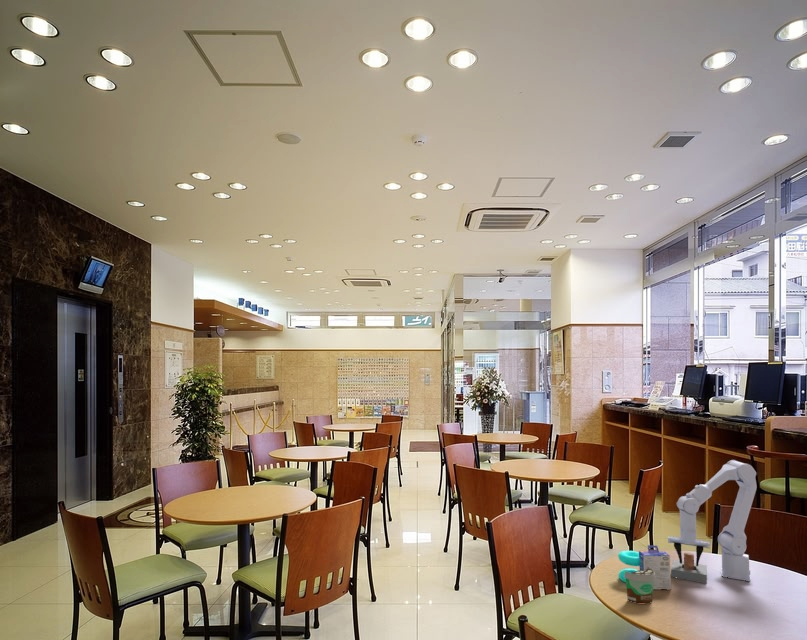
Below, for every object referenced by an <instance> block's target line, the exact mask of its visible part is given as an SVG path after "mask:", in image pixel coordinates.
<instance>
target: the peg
mask: <svg viewBox="0 0 807 640" xmlns="http://www.w3.org/2000/svg"><path fill="white" fill-rule="evenodd" d="M683 562H684V569H690V570H694V563H695V555H694V554H693V553H691V552H684V553H683Z"/></svg>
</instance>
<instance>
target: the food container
mask: <svg viewBox="0 0 807 640" xmlns="http://www.w3.org/2000/svg"><path fill="white" fill-rule="evenodd" d="M636 570H637V571H635V572H632V573H629V572H626V571H625V576H624V578H626V583H625V586H626V594H627V595H626V596H627V601H628V600H629V601H628V602H630V601H632V602H631V603H633V602H636V603H635V604H637V603H650V602H653V598H654V597H653V596H654V594H653V593H654V589H653V582H654V580H655V579H656V576H655V572H654V570H653V569H652V568H650V567H647V569H646V570H640V569H639V570H638V569H636ZM650 604H651V603H650Z"/></svg>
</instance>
